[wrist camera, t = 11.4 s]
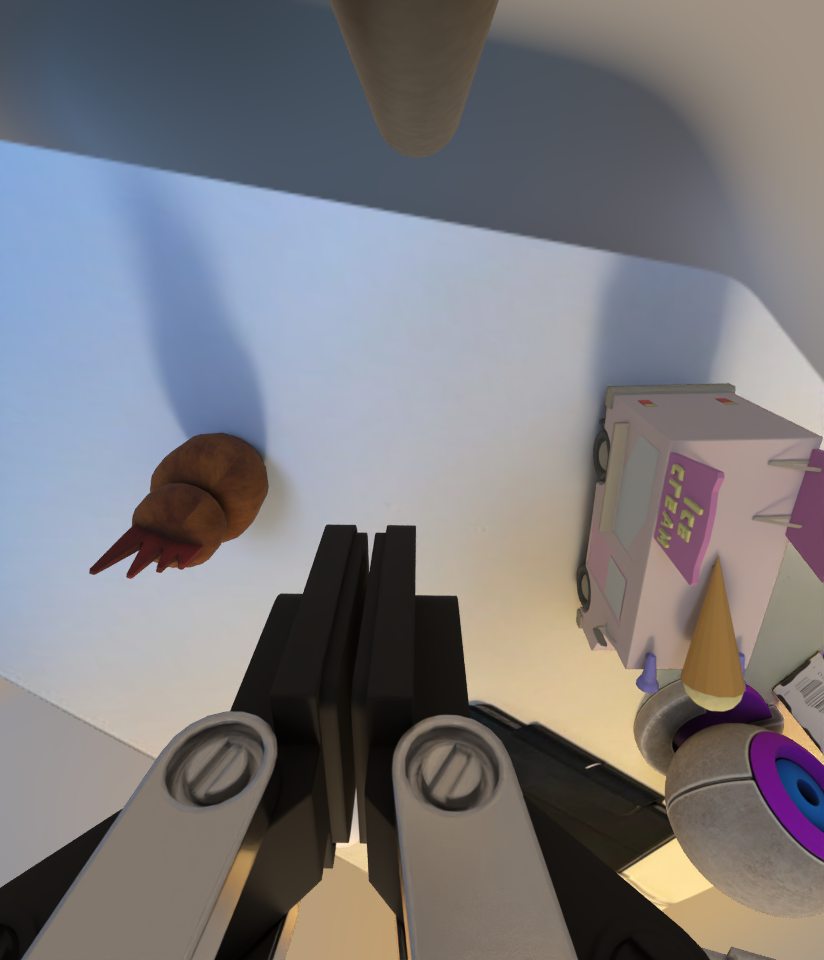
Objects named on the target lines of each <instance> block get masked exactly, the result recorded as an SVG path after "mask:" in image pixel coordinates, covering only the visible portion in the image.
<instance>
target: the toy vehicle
mask: <svg viewBox="0 0 824 960" xmlns="http://www.w3.org/2000/svg"><path fill="white" fill-rule="evenodd" d="M605 405H606V406H607V413H606V419H601V420H600V424H601V425H602V426H603V427H604V428H605V430H603V431H601V432H600V433H599V435H598V436H597V438H596V441H595V445H594V454H593V458H594V466H595V470H596V473H597V475H598V477H599V478H600V479H602V480H604V481H599V482H597V484H596V491H595V499H594V506H593V514H592V521H591V529H590V536H589V543H588V551H587V558H586V564H584V565H582V566H580V568H579V571H578V574H577V591H578V595H579V600H580V602H581V604H582V606H583V607H580V609H578V610H577V618H576V623H577V625H578V627H579V628H583V630H584V633H585V635H586V638H587V640H588V642H589V645H590V647H591V650H592V651H612V650H616V651H617V653H618V655H619V657H620V659H621V661H622V663H623V665H624V667H625V669H644V670H643V673H642V675H640V676H639V677H638V679H637V680H636V685H637V686H638V688H639V689H640V690H642V691H643V692H646V693H650V694H652V693H655V692H658V690H659V685H658V682H657V679H656V669H682V672H681V680H682V681H683V685H684V688H685V691H686V693H687V694H688V695H689V696H690V698H691V699H692V700H693V701H694V702H695V703H696V704H697V705H699V706H701V707H703V708H705V709H707V710H710V711H726V710H730V709H732V708H734V707H735V706H736V705H737V704H738V703H739V702H740V701H741V699H742V696H743V694H744V692H745V691H746V682H745V680H744V670H745V668H747V667H748V664H749V661H750V658H751V655H752V652H753V649H754V645H755V642H756V639H757V636H758V633H759V630H760V627H761V624H762V621H763V618H764V615H765V612H766V609H767V606H768V603H769V600H770V597H771V594H772V591H773V588H774V585H775V582H776V579H777V576H778V572H779V569H780V566H781V563H782V560H783V557H784V554H785V551H786V548H787V545H788V542H789V541H790V542H791V543H792V545H793V546H794V547H795V548H796V550H797V551H798V552H799V554H800V555H801V556H802V557H803V559H804V560H805V561H806V563H807V564H808V565H809V566H810V568H811V569H812V570H813V572H814V573H815V574H816V575H817V577H818V578H819V579H820V581H821V582H822V583H824V451H823V450H820V449H819V448H820V445H821V442H822V437H821V436H819V435H817V434H815V433H813V432H811V431H809V430H807V429H805V428H803V427H801V426H799V425H797V424H795V423H793V422H791V421H789V420H787V419H785V418H783V417H780V416H778V415H776V414H774V413H772V412H770V411H768V410H766V409H764V408H762V407H760V406H758V405H756V404H754V403H752V402H750V401H748V400H746V399H744V398H742V397H740V396H738V395H736V394H735V386H733V385H731V384H729V383H728V384H687V385H645V386H608V388H607V394H606V401H605Z"/></svg>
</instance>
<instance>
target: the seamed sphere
mask: <svg viewBox="0 0 824 960" xmlns="http://www.w3.org/2000/svg"><path fill="white" fill-rule="evenodd" d="M359 840H360V839H359V824H358V808H357V793H355V802H354V810H353V818H352V827H351V835H350V840H349V843H336V848H342V847H348V846H351V845H353V844H354V843H356V842H357V841H359Z"/></svg>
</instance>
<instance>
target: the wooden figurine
mask: <svg viewBox="0 0 824 960" xmlns="http://www.w3.org/2000/svg"><path fill="white" fill-rule="evenodd" d="M150 492H151V493H149V494H148V495H147V496H146V497H145V498H144V500H143V501H142V502H141V503H140V504H139V505H138V507H137V508H136V509H135V511H134V514H133V518H132V527H131V528H130V529H129V530H128V531H127V532H126V533H125V534H124V535H123V536H122V537H121V538H120V539H119V540H118V541H117V542H116V543H115V544H114V545H113V546H112V547H111V548H110V549H109V550H108V551H107V552H106V553H105V554H104V555H103V556H102V557H101V558H100V559H99V560H98V561H97V562H96V563H95V564H94V565H93V566H92V567H91V568H90V572H89V573H90V574H93V575H95V574H97V573H99V572H101V571H103V570H104V569H106V568H108V567H110V566H112V565H113V564H115V563H117V562H119V561H121V560H122V559H124V558H126V557H128V556H130V555H132V554H133V553H135V552H137V551H139V552H138V554H137V556H136V558H135V560H134V561H133V563H132V565H131V567H130V569H129V571H128V573H127V576H126V577H127V578H129V579H131V578H133V577H134V576H136V575H137V574H138V573H139V572H140V571H142V570H143V569H144V568H145V567H147V566H148V565H149V564H150V563H152V562H153V561H154V562H156V563H158V565H157V569H156V572H159V573H161V572H163V571H164V570H165V569H166V568H167V567H172V568H175V567H178V569H181V570H182V569H184V568H185V567H193V566H196V565H199V564H202V563H204V562H205V561H207V560H209V558H210V557H211V556H212V555H213V554H214V552H215V551H216V550H217V549H218V548H219V546H220V545H221V543H224V542H226V541H229V540H232V539H234V538H237V537H238V536H240V535H241V534H242V533H243V532H244V531H245V530H246V529H247V528H248V527H249V526H250V525H251V523H252V522H253V521H254V519H255V517H256V516H257V514H258V512H259V509H260V507H261V505H262V503H263V501H264V499H265V497H266V495H267V492H268V479H267V472H266V467H265V465H264V463H263V461H262V459H261V458H260V456H259V455H258V453H257V452H256V451H255V450H254V449H253V448H252V447H251V446H250V445H249V444H247V443H245V442H244V441H242V440H241V439H239V438H236V437H233V436H230V435H227V434H224V433H214V434H200V435H197V436H194V437H192V438H191V439H189V440H188V441H186V442H185V443H184V444H182V445H181V446H179V447H178V448H176V449H175V450H174V451H172V452H171V453H170V454H169V455H167V456H166V457H165V458H164V459H163V460H162V462H161V463H160V464H159V465H158V467H157V468H156V469H155V471H154V473H153V475H152V478H151V486H150Z"/></svg>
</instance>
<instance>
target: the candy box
mask: <svg viewBox="0 0 824 960" xmlns="http://www.w3.org/2000/svg"><path fill="white" fill-rule="evenodd" d="M773 691H774V693H775V694H776V695H777V697H778V698H779V699H780V701H781V702H782V703H783V704H784V705H785V707H786V708H787V709H788V710H789V712H790V713H791V714H792V715H793V717H794V718H795V719H796V721H797V722H798V723H799V724H800V726H801V727H802V728H803V729H804V731H805V732H806V733H807V734H808V736H809V737H810V738H811V740H812V741H813V742H814V743H815V745H816V746H817V747H818V748H819V750H820V751H821V752H822V754H823V755H824V653H822V652H819V653H818V654H817V655H815V656H814V657H813V658H811V659H810V660H809V661H807V662H806V663H805V664H804V665H803V666H802V667H801V668H799V669H798V670H797V671H796V672H794V673H793V674H792V675H791V676H789V677H788V678H786V679H785V680H784V681H783V682H782V683H780V684H779V685H778V686H777V687H775V689H774V690H773Z"/></svg>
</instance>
